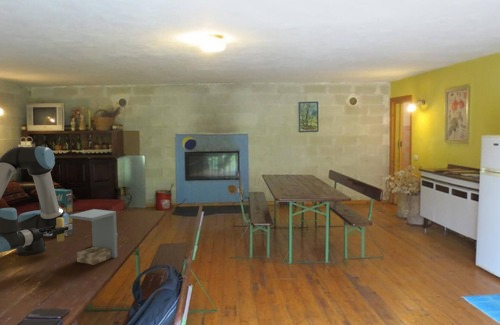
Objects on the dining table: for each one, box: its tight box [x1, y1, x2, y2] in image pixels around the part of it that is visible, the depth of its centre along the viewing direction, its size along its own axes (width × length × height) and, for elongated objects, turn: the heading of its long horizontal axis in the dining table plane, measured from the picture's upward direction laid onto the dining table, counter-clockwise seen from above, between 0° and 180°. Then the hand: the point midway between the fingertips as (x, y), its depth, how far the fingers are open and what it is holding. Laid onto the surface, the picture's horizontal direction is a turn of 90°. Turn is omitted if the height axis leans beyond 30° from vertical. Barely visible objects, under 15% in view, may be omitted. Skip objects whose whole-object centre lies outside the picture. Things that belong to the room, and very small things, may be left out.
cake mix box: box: [39, 188, 75, 237], centre depth 264 cm, size 22×6×30 cm, turn 73°
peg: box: [56, 218, 66, 243], centre depth 206 cm, size 4×4×12 cm
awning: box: [69, 208, 118, 259], centre depth 212 cm, size 16×17×26 cm
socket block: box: [76, 246, 112, 266], centre depth 212 cm, size 12×12×5 cm
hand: (69, 226), depth 211 cm, fingers closed on peg, 3 cm apart
